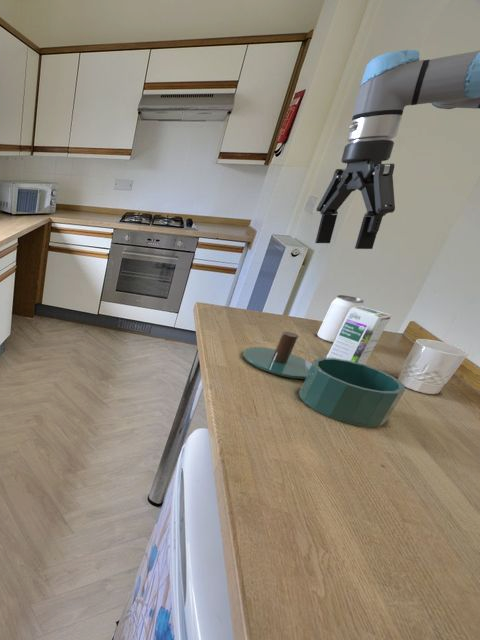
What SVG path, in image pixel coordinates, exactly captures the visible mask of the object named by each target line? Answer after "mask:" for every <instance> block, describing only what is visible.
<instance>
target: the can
mask: <svg viewBox="0 0 480 640" xmlns="http://www.w3.org/2000/svg"><path fill="white" fill-rule="evenodd" d="M364 303H365V300H363V299H361V298H359V297H355V296H350V295H343V294H338V295H337V296H336V298H334V299H333V300H332V302H331V304H330V306H329V308H328V309H327V312H326V314H325V316H324V318H323V321H322V323H321V325H320V327H319V329H318V332H317V334H316V335H317V337H318V338H319V339H320V340H323V341H325V342H329V343H332V344H333V343H334V341H335V339H336V337H337V335H338V333H339V331H340V329H341V327H342V325H343V322H344V320H345V318H346V316H347V314H348V312H349V310H350V309H351V308H353V307H357V306H364Z"/></svg>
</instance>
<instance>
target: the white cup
mask: <svg viewBox="0 0 480 640" xmlns="http://www.w3.org/2000/svg"><path fill="white" fill-rule="evenodd" d="M414 341H415V342H414V343H413V345H412V347H411V348H410V351H409V353H408V355H407V357H406V359H405V361H404V363H403V365H402V367H401V370H400V372H399V375H398V377H397V378H396V379H397V380H399V381H400V382H401V383H402V384H403V385H404V388H406V389H409V390H412V391H415V392H418V393H422V394H427V395H436V394H439V393H440V392H441V391H442V389H443V388H444V386H445V384H447V383H448V382H449V381H450V380H451V378H452V376H454V375H455V373H456V372H457V370H458V369H459V367H460V366H461V365H462V364H463V362H464V361H465V359H466V358H467V357H468V356H469V352H468V351H467V350H465V349H463V348H461V347H459V346H456V345H454V344H451V343H447V342H443V341H439V340H436V339H435V340H434V339H427V338H417V339H416V340H414Z"/></svg>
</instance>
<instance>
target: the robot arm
mask: <svg viewBox="0 0 480 640" xmlns="http://www.w3.org/2000/svg"><path fill="white" fill-rule="evenodd" d="M420 59H421V58H420V51H419V50H416V49H404V50H396V51H390V52H386V53H383V54H380V55H378V56H376V57H375V56H374V57H373V58H372V59H370V61H369V62H368V63H367V64H366V66H365V70H364V73H363V77H362V79H361V83H360V84H359V88H358V93H357V98H356V101H355V104H354V105H355V106H354V110H353V115H352V118H351V123H350V125H349V127H348V129H349V130H348V133H347V134H348V135H347V138H346V141H347V142H349V143H347V144H346V145H345V146H344V149H343V152H342V157H341V163H343V164H346V167H345V168H336V169H335V170H334V173H333V175H332V179H331V181H330V183H329V185H328V187H327V188H326V190H325V192H324V194H323V196H322V197H321V199H320V201H319V203H318V205H317V207H316V212H320V215H321V217H320V222H319V226H318V230H317V234H316V239H315V242H314V243H315V244H330V243H331V240H332V236H333V233H334V229H335V225H336V223H337V222H336V221H337V218H338V214H339V212H338V210H339V209H340V208H341V206H342V205H343V203H345V202H346V200H347V199H348V197H349V196H350V195H351V193H353V192H355V191H356V190H358V191H360V193H361V196H362V200H363V203H364V206H365V209H366V212H365V213H364V214H363V217H362V221H361V226H360V229H359V231H358V235H357V239H356V243H355V246H354V250H372V249H373V248H374V245H375V241H376V238H377V234H378V232H379V230H380V227H381V224H382V220H383V217H385V216H386V215H387V214H390V213H392V214H393V213H394V212H395V210H396V204H395V203H396V202H395V190H394V177H393V176H394V171H395V165H396V164H395V163H382V162H386V161H389V160H390V158H391V156H392V152H393V149H394V146H395V141H394V140H392V139H394V138H396V137H397V136H398V132H399V129H400V125H401V121H402V119H403V118H402V117H403V114H404V109H405V107H407V106H416V105H423V104H425V105H426V104H431V105H432V106H433V107H434V108H437V109H443V110H452V109H474V110H475V109H480V50H474V51H469V52H464V53H458V54H453V55H447V56H442V57H437V58H431V59H421V60H420Z"/></svg>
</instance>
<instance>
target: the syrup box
mask: <svg viewBox="0 0 480 640" xmlns="http://www.w3.org/2000/svg"><path fill="white" fill-rule="evenodd" d="M392 315H393V314H392V313H387V312H384V311H381V310H377V309H373V308H370V307H367V306H364V305H363V306H357V307H353V308H351V309H350V310H349V312H348V314H347V316H346V318H345V320H344V322H343V325H342V327H341V329H340V331H339V333H338V335H337V337H336V339H335V341H334V343H332V345H331V347H330V349H329V352H328V353H327V355H326V357H325V358H337V359H343V360H348V361H353V362H356V363H360V364H364V365H367V362H368V360H369V358H370V356H371V354H372V353H373V351H374V350H375V347H376V345H377V343H378V342H379V339H380V338H381V336H382V334H383V332H384V331H385V329H386V327H387V325H388V323H389V322H390V319H391V318H392V317H393V316H392Z"/></svg>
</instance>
